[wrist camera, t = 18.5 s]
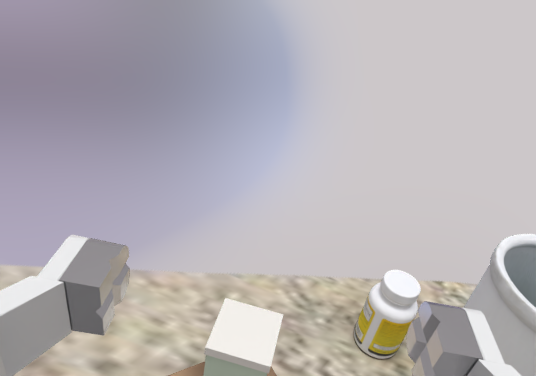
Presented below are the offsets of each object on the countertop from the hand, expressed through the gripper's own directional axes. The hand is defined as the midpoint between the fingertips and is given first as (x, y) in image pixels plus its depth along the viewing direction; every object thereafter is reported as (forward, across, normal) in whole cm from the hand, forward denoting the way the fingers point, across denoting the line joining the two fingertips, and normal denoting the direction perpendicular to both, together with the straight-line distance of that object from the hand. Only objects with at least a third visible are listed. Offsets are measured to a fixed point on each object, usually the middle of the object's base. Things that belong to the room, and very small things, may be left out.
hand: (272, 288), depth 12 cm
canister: (+12, 0, +28) cm, 31 cm away
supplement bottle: (+25, -16, +32) cm, 44 cm away
